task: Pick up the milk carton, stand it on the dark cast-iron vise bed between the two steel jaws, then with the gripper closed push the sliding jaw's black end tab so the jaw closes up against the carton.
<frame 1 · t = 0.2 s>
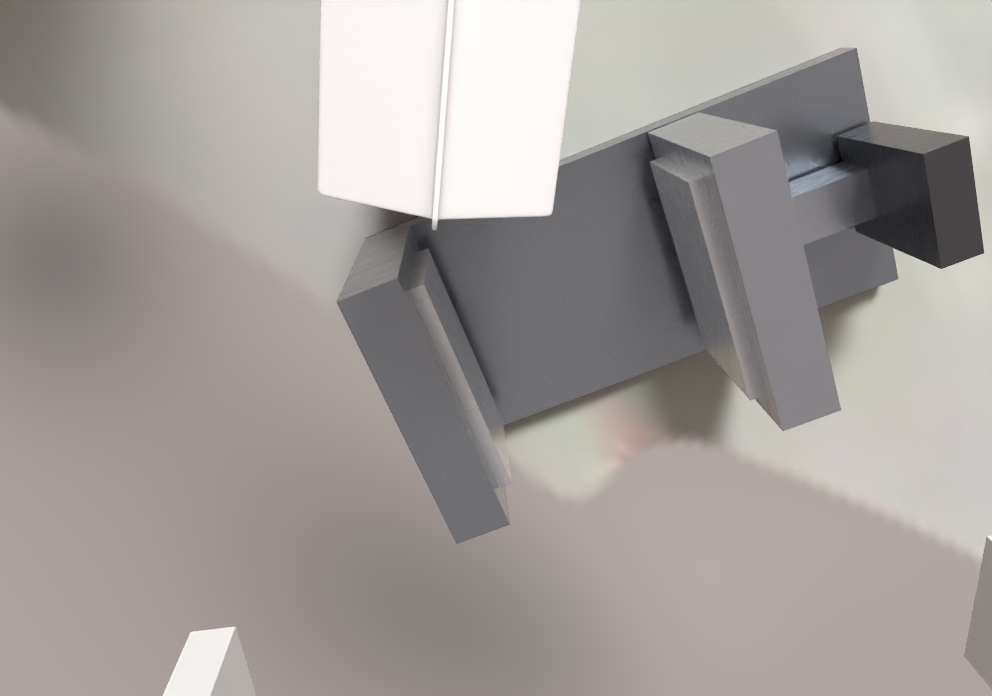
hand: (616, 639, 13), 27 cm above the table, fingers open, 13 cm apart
vise base: (631, 255, 39), on the table
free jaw: (816, 232, 32), point 6 cm above the table, slide at 0.0 cm
milk: (447, 68, 35), on the table
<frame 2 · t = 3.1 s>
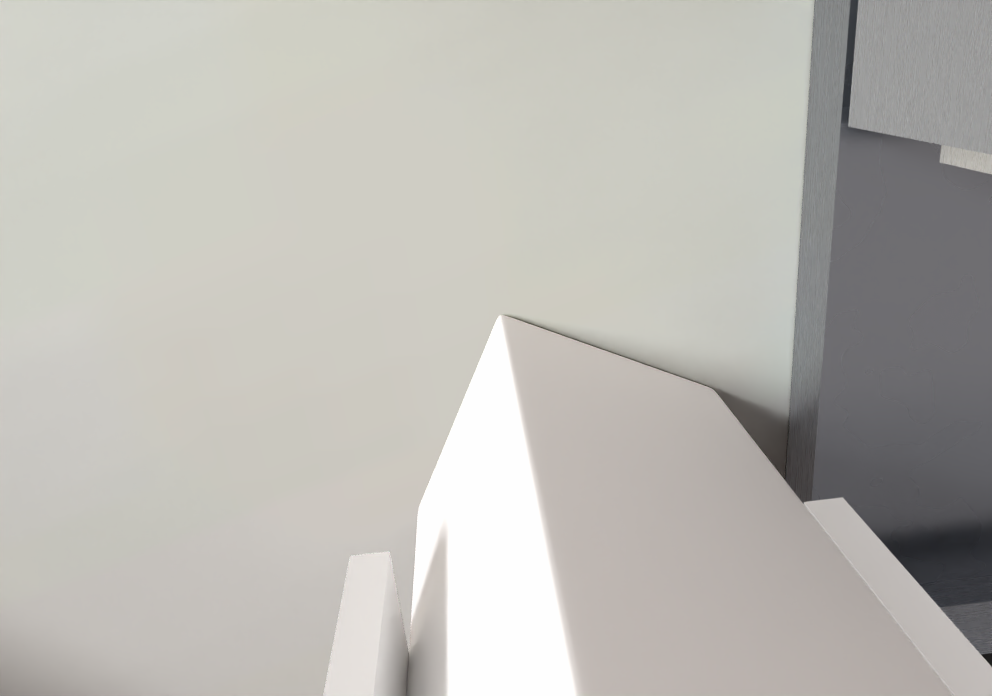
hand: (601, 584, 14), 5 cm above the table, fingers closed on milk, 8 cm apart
milk: (561, 445, 19), on the table, touching gripper
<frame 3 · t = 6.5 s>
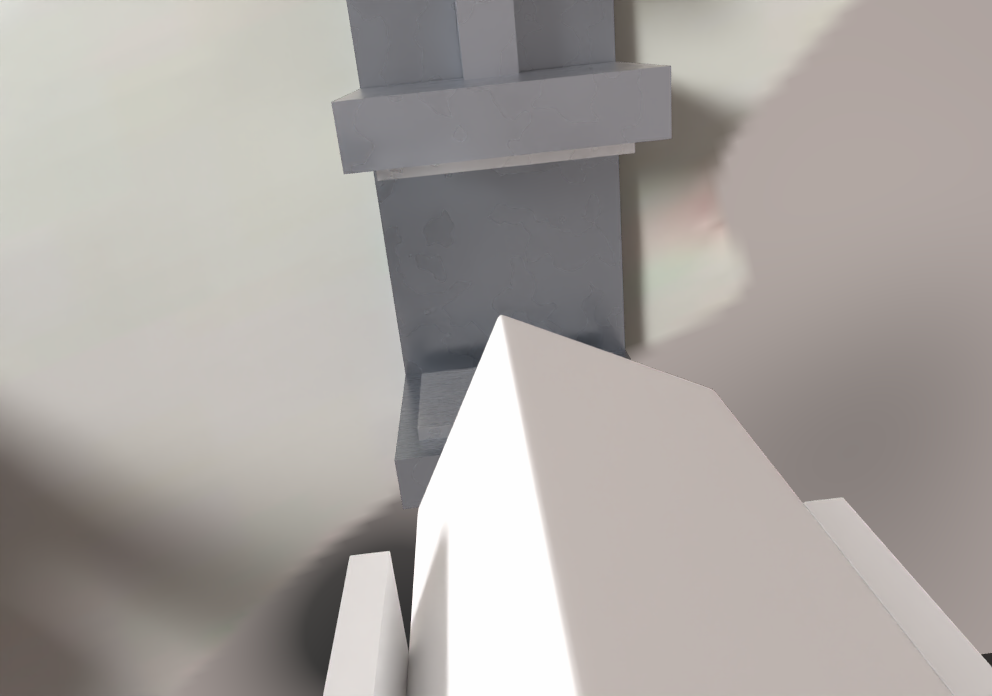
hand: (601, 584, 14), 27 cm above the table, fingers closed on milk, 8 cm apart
vise base: (496, 171, 38), on the table
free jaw: (488, 15, 29), point 6 cm above the table, slide at 0.0 cm
milk: (561, 445, 19), point 21 cm above the table, touching gripper
when the fingers open (8 cm above the table, at t = 10.1 s): milk drops 1 cm, resting on vise base.
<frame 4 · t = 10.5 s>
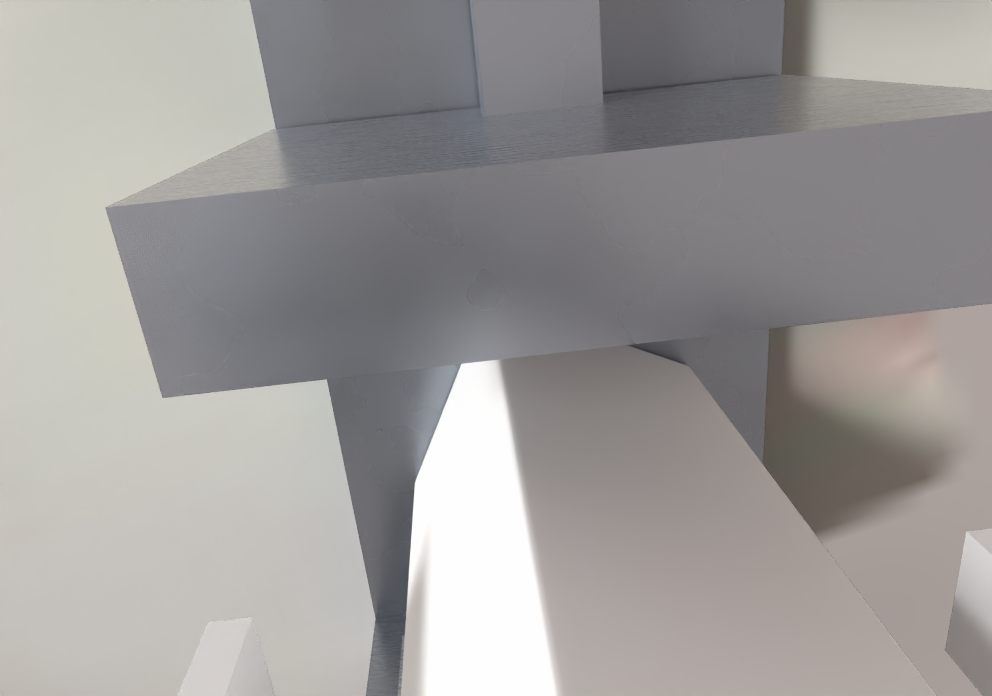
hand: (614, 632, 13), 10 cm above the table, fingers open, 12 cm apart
vise base: (538, 274, 21), on the table
milk: (548, 421, 21), point 1 cm above the table, touching vise base
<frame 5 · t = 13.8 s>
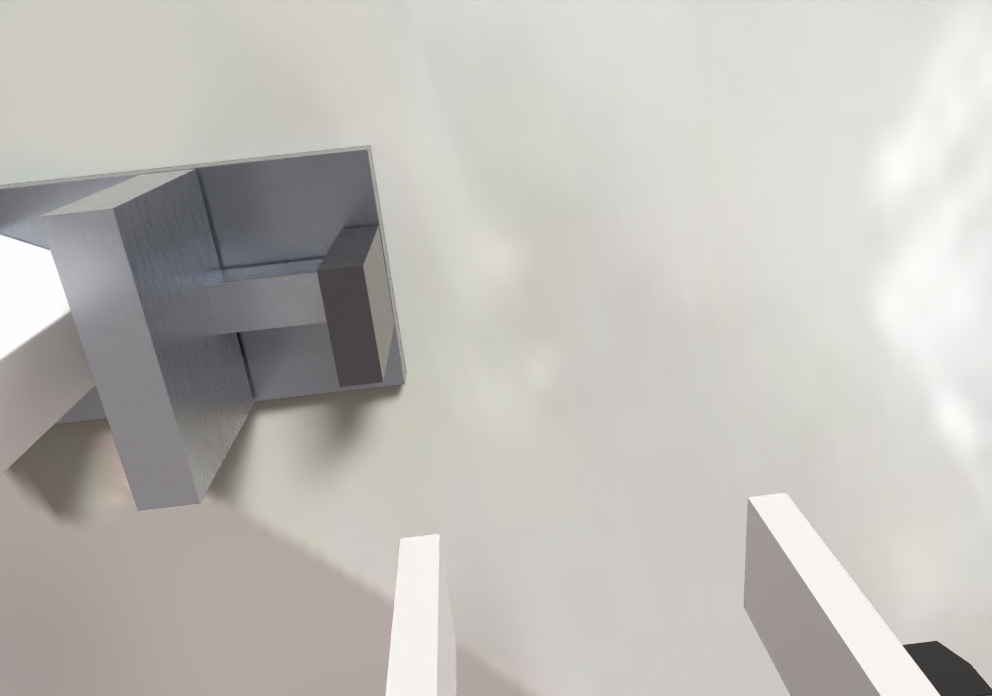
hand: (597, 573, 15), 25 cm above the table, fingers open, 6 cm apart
vise base: (143, 293, 37), on the table
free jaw: (252, 319, 32), point 6 cm above the table, slide at 0.0 cm
milk: (52, 307, 36), point 1 cm above the table, touching vise base
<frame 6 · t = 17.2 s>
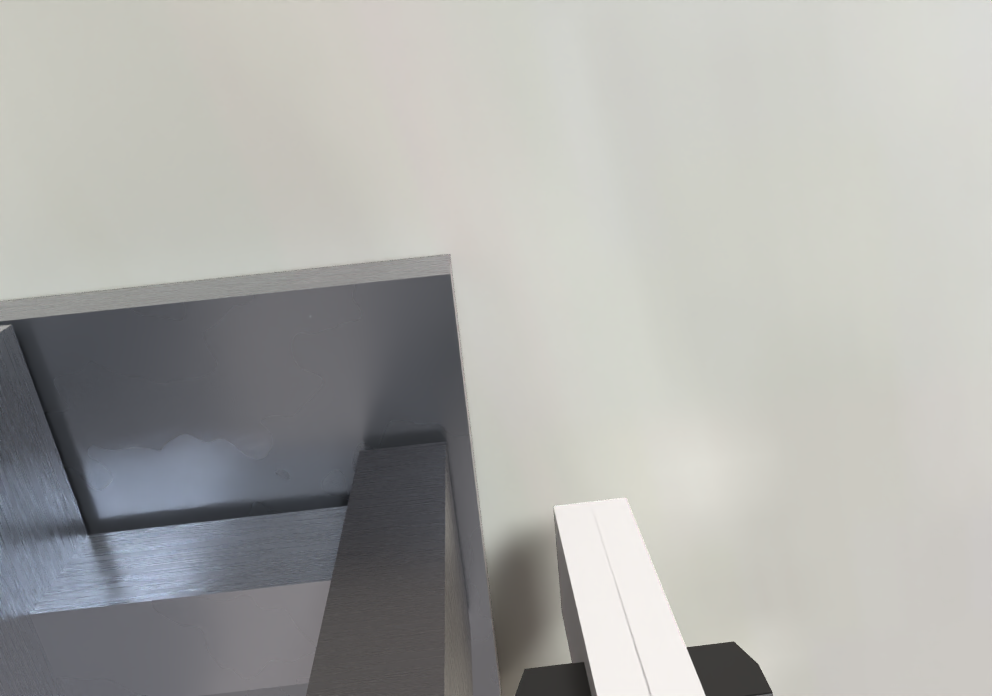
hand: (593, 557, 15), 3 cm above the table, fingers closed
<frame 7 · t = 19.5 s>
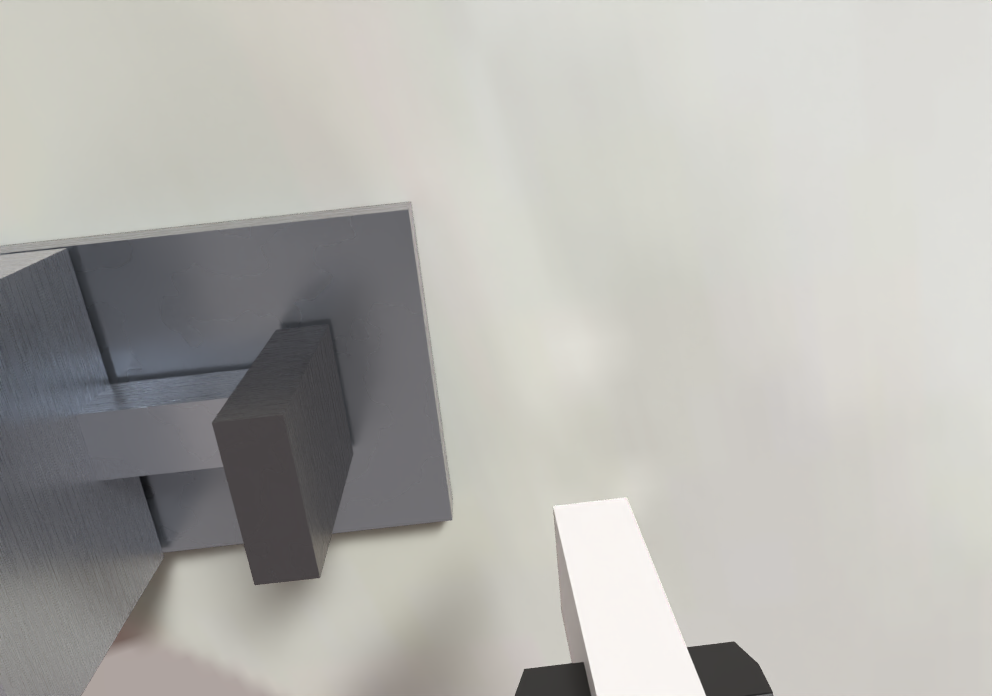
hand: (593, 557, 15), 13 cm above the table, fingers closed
vise base: (99, 398, 28), on the table
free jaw: (134, 474, 22), point 6 cm above the table, slide at 3.2 cm
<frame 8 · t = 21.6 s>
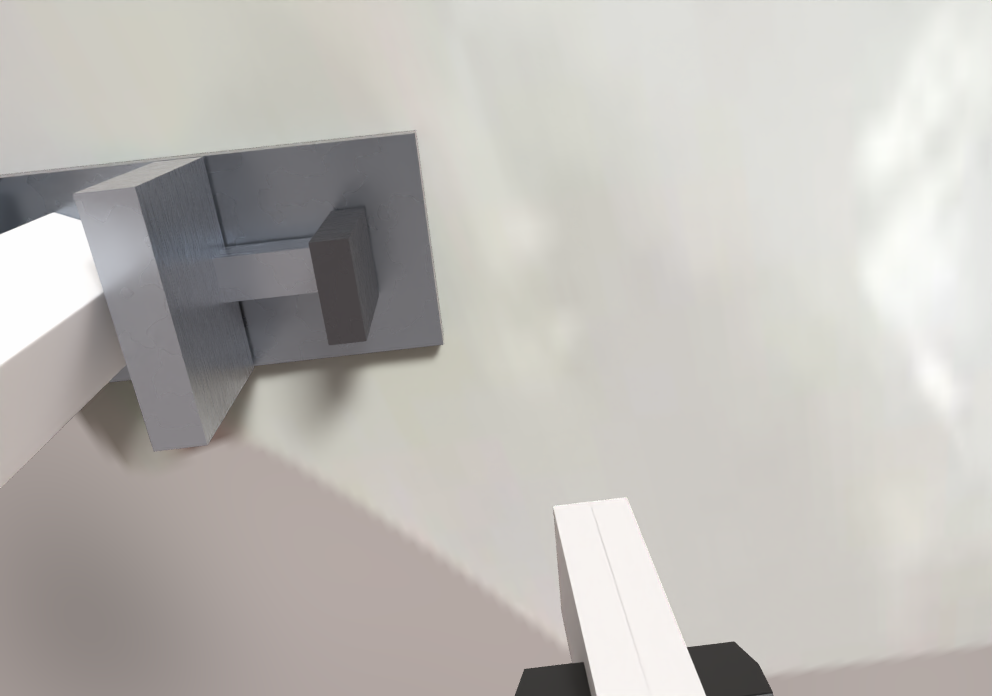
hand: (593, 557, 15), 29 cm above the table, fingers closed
vise base: (212, 262, 42), on the table
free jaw: (252, 288, 36), point 6 cm above the table, slide at 3.2 cm, touching milk
milk: (105, 278, 41), point 1 cm above the table, touching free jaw, vise base
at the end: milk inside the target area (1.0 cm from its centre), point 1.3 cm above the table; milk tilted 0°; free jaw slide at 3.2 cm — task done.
